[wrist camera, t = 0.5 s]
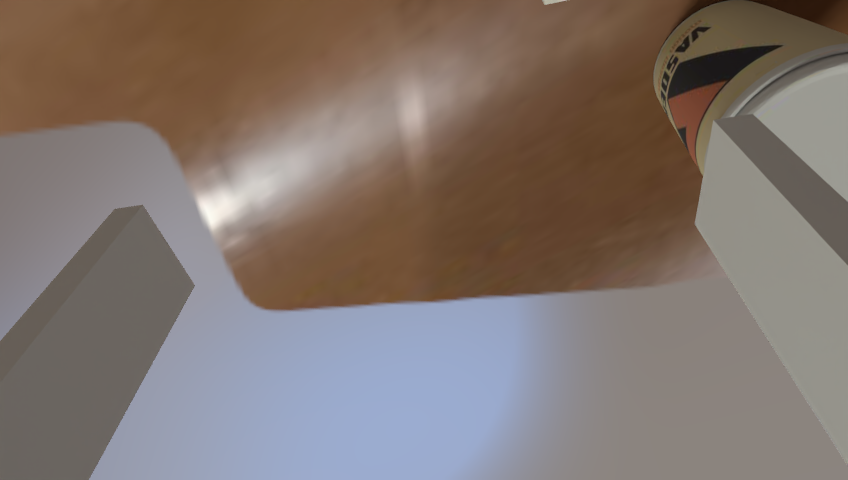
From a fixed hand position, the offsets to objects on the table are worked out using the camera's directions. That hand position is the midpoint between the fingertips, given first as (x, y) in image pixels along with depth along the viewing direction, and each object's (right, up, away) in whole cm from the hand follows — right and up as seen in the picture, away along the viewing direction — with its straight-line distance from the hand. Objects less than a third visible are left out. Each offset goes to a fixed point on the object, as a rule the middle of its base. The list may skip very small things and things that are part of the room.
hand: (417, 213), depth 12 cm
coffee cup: (+19, +11, +21) cm, 30 cm away
